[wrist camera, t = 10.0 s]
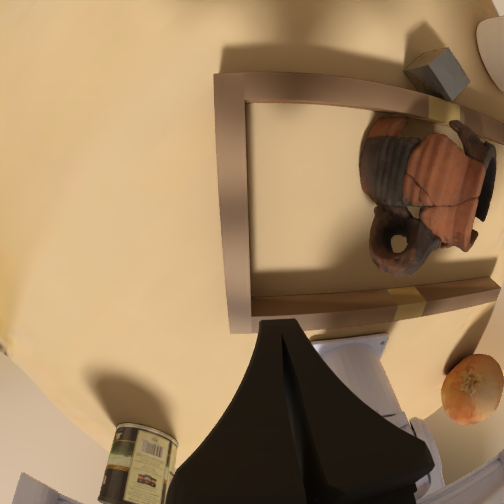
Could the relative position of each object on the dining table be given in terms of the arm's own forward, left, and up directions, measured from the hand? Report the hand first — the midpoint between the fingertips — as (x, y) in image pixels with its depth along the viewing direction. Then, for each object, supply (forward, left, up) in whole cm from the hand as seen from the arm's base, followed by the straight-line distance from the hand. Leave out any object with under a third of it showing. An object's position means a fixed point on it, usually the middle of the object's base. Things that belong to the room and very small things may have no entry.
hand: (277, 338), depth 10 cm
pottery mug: (+4, -11, -10) cm, 15 cm away
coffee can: (-33, +18, -10) cm, 39 cm away
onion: (-20, -28, -10) cm, 36 cm away
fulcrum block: (+13, -12, -10) cm, 20 cm away
